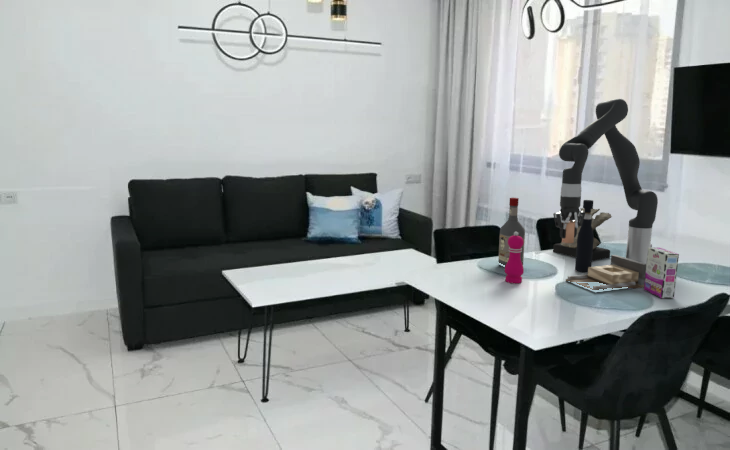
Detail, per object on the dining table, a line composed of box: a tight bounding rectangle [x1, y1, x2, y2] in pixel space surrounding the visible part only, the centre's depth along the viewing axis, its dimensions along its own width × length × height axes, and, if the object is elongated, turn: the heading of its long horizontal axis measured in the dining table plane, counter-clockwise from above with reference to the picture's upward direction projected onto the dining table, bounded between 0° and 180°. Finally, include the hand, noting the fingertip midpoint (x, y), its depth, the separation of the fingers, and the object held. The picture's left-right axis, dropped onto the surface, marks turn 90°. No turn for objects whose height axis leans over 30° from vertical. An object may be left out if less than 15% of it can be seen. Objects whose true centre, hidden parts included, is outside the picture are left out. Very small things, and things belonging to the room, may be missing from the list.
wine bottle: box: [574, 199, 595, 274], centre depth 225 cm, size 6×6×30 cm
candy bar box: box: [643, 247, 680, 300], centre depth 195 cm, size 11×5×16 cm, turn 5°
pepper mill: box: [504, 232, 525, 284], centre depth 211 cm, size 7×7×20 cm
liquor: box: [498, 197, 526, 266], centre depth 232 cm, size 9×9×30 cm
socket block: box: [587, 264, 639, 285], centre depth 209 cm, size 13×13×4 cm
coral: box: [552, 207, 613, 262], centre depth 257 cm, size 25×20×22 cm
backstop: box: [565, 254, 646, 290], centre depth 208 cm, size 24×16×9 cm
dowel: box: [561, 221, 575, 243], centre depth 213 cm, size 4×4×8 cm
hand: (567, 237), depth 214 cm, fingers closed on dowel, 4 cm apart
